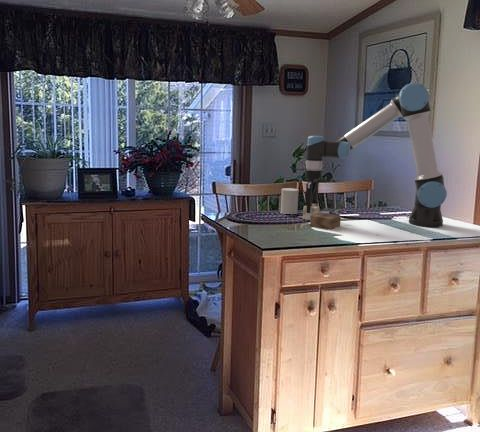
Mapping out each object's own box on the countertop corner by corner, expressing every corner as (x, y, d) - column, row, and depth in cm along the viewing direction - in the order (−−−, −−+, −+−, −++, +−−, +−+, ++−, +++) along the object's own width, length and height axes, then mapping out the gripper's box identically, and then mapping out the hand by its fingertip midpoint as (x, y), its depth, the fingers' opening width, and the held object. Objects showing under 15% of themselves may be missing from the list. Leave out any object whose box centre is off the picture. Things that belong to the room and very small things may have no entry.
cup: (277, 212, 266) (279, 188, 263) (293, 211, 268) (294, 188, 266) (284, 215, 258) (285, 190, 256) (299, 215, 260) (301, 190, 258)
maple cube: (318, 218, 253) (319, 206, 252) (315, 221, 248) (315, 208, 247) (306, 217, 256) (306, 205, 254) (302, 219, 250) (303, 206, 249)
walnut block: (339, 226, 239) (340, 215, 238) (330, 230, 230) (331, 219, 229) (319, 223, 244) (320, 212, 243) (309, 226, 236) (310, 215, 235)
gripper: (311, 167, 258) (308, 214, 262) (299, 170, 240) (296, 221, 244) (326, 168, 255) (323, 215, 259) (316, 172, 237) (312, 222, 241)
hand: (310, 218), depth 252 cm, fingers open, 7 cm apart
